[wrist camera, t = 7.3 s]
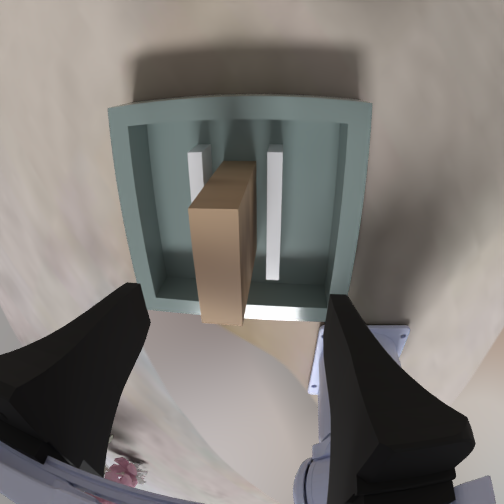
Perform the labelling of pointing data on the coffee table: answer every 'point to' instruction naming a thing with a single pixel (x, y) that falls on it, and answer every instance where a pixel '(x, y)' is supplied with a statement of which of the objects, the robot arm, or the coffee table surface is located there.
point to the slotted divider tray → (268, 193)
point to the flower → (122, 474)
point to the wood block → (225, 241)
